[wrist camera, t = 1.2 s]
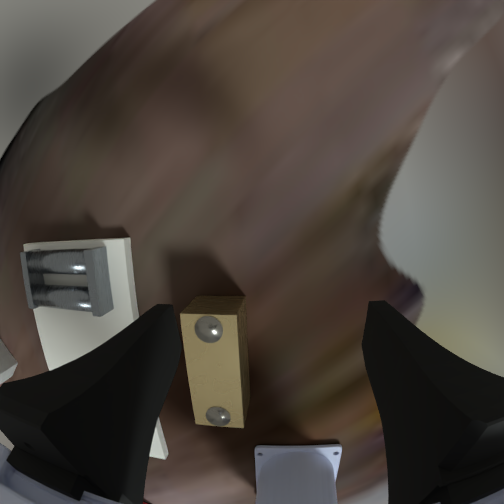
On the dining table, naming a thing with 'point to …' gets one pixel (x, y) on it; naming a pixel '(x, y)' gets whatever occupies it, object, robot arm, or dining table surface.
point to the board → (84, 323)
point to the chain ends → (64, 296)
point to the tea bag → (6, 363)
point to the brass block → (217, 359)
